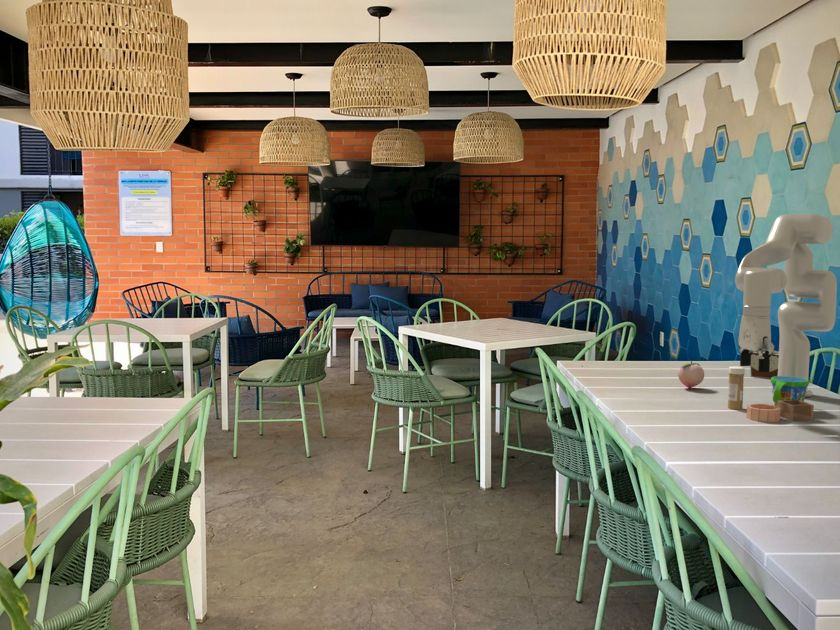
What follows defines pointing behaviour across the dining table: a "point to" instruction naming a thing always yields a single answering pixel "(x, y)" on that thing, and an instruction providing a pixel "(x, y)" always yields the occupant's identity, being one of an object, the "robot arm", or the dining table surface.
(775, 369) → the food container
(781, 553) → the dining table surface
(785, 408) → the walnut box
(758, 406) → the pot
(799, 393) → the snack cup
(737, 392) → the sprinkles bottle
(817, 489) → the dining table surface
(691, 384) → the decorative fruit
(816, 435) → the dining table surface
